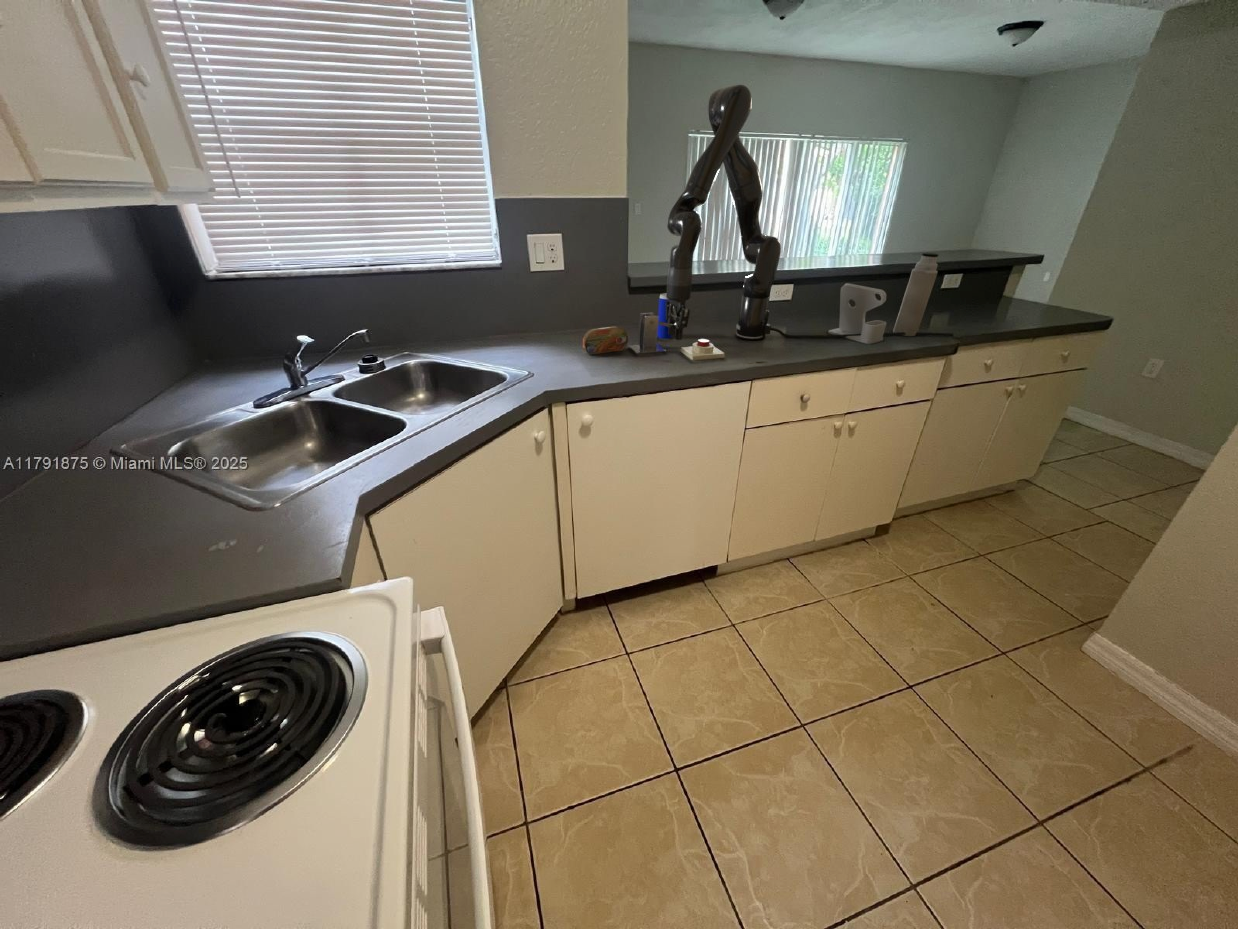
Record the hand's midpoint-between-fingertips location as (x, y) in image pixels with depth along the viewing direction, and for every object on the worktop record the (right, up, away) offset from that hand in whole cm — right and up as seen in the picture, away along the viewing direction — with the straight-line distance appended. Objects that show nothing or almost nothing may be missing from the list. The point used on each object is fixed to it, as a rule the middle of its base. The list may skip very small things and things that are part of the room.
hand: (674, 336), depth 158 cm
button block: (+8, -7, -4) cm, 12 cm away
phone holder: (+69, +5, +20) cm, 72 cm away
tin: (-23, -7, -3) cm, 24 cm away
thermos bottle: (+90, +8, +25) cm, 94 cm away
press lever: (-5, +2, -3) cm, 6 cm away
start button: (+8, -4, -6) cm, 11 cm away
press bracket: (-9, -5, 0) cm, 10 cm away
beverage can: (-2, +2, +12) cm, 13 cm away
